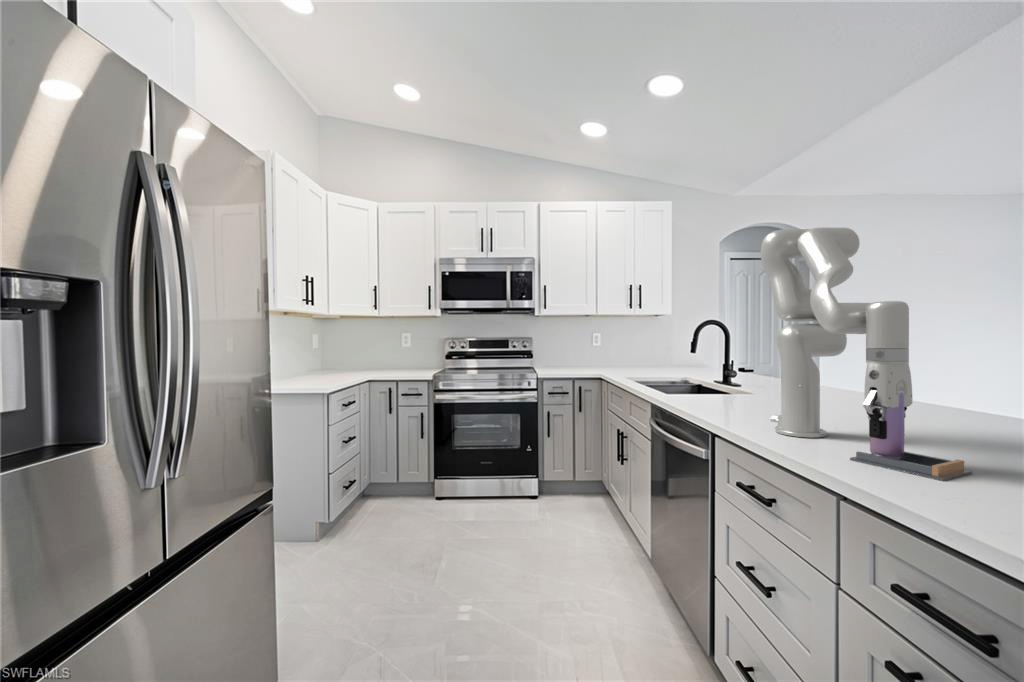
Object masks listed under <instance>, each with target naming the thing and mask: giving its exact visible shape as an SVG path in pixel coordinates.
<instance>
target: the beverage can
mask: <svg viewBox="0 0 1024 682" xmlns="http://www.w3.org/2000/svg"><path fill="white" fill-rule="evenodd" d="M899 392H900V393H899V395H900V396H899V407H897V408H895V409H888V408H887V411H886V415H885V420H884V421H887V438H886V439H878V438H873V437H870V436H869V452H870V454H873V455H878V456H883V457H888V458H892V459H901V458H902V457H903V456H904V451H905V418H904V395H903V393H902V392H903V391H899ZM874 405H875V406H882V405H881V404H880V403H874ZM877 410H878V412H879V413H880V411H881V410H879V409H877Z"/></svg>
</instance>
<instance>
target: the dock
mask: <svg viewBox="0 0 1024 682" xmlns="http://www.w3.org/2000/svg"><path fill="white" fill-rule="evenodd" d="M849 461H854V462H858V463H862V464H866V463H867V465H870V464H871V466H875V465H876V467H879V466H881V467H880V468H883V467H885V469H888V468H890V469H889V470H892V469H895V470H894V471H896V470H900V471H899V472H901V471H905V472H909V473H908V474H910V473H914V474H918V475H922V476H921V477H923V476H925V477H924V478H927V477H930V478H929V479H931V478H934V479H933V480H936V479H938V480H937V481H940V480H942V481H941V482H945V481H944V480H946V481H949V479H950V480H953V479H957V478H960V477H964V476H969V475H972V474H973V471H972V470H968V469H965V460H964V459H954V460H950V459H945V458H940V457H935V456H929V455H925V454H919V453H914V452H910V451H905V450H904V456H903V457H902V458H901V459H892V458H888V457H883V456H878V455H873V454H872V453H867V452H863V451H856V453H855V456H853V457H850V458H849ZM905 472H904V473H905ZM914 474H913V475H914ZM918 475H917V476H918ZM952 478H953V479H952Z"/></svg>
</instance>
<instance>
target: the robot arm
mask: <svg viewBox="0 0 1024 682" xmlns="http://www.w3.org/2000/svg"><path fill="white" fill-rule="evenodd" d="M760 247H761V248H760V260H761V263H762V264H761V265H762V267H763V270H765V273H766V276H767V277H768V280H769V285H770V288H771V289H770V290H771V293H772V298H773V303H774V305H775V307H774V308H775V310H776V314H777V316H778V317H779V319H780V320H782V321H783V322H813V323H791V324H789V325H788V324H787V325H786V326H783V327H782V328H781V329H780V330H779V331H778V333H777V337H776V343H777V348H778V354H779V359H780V394H781V396H780V406H781V407H780V408H781V409H780V415H777V414H773V415H772V416H771V417H770V418H769V420H770V422H772V423H777V426H775V429H774V430H775V432H776V433H778V434H780V435H786V436H790V437H796V438H797V437H798V438H807V439H808V438H809V439H810V438H811V439H812V438H813V439H814V438H815V439H816V438H824V437H826V436H827V431H826V430H824V429H822V428H821V423H820V422H821V381H820V380H821V377H820V376H821V373H820V370H819V367H818V366H817V364H816V362H815V360H814V359H813V357H814V358H816V357H818V358H819V357H821V358H823V357H825V358H826V357H827V358H828V357H836V356H840V355H841V354H842V353H843V352H844V351H845V350H846V347H847V341H848V340H847V339H848V337H847V335H865V363H866V367H865V369H866V370H865V377H864V402H863V403H862V407H863V408H864V409H865V412H866V414H867V419H868V423H869V425H868V432H869V433H868V435H869V438H870V437H873V438H878V439H886V438H887V421H884V420H885V415H886V411H887V408H888V409H895V408H897V407H899V396H900V395H899V393H900V392H899V391H903V392H902V393H903V395H904V419H905V418H906V411H907V409H908V407H910V406H912V405H913V384H912V383H913V382H912V374H911V373H912V372H911V368H910V308H909V305H908V303H907V302H905V301H902V300H901V301H900V300H888V301H875V302H873V301H872V302H838V300H837V298H836V296H835V295H834V294H833V291H832V289H833V288H835V287H837V286H839V285H841V284H843V283H845V282H846V281H847V280H848V279H850V278H851V276H853V273H854V266H853V263H851V261H850V260H849V259H850V258H852V257H854V256H855V255H856V254H857V252H859V251H858V250H859V248H860V237H859V236H858V234H857V232H855V230H854V229H851V228H850V227H849V228H848V227H815V228H806V229H805V228H792V229H791V228H790V229H789V228H786V229H785V228H784V229H778V230H774V231H772V232H769V233H768V234H766V235H765V236H764V238H763V239H762V242H761V246H760ZM790 259H803V260H804V263H805V264H806V266H807V268H808V269H809V271H810V273H811V275H812V276H813V279H814V280H815V282H814V284H813V285H812V288H808V287H807V286H806V285H805V281H804V278H803V277H804V276H803V274H802V273H801V271H800V269H799V268H798V267H797V266H796V265H795V264H794V263H793V262H792V261H790ZM874 403H880V404H881V405H882V406H875V405H874ZM877 409H879V410H881V411H880V413H879V412H878V410H877Z"/></svg>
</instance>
